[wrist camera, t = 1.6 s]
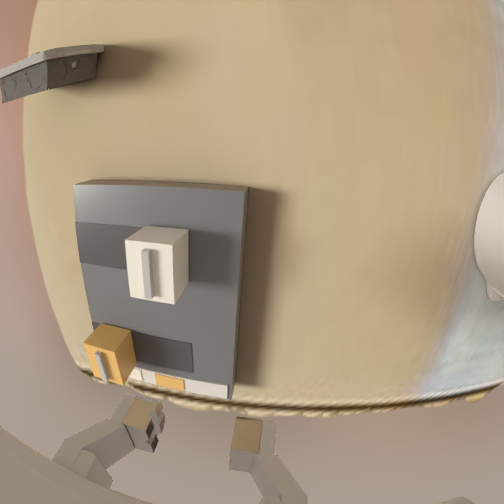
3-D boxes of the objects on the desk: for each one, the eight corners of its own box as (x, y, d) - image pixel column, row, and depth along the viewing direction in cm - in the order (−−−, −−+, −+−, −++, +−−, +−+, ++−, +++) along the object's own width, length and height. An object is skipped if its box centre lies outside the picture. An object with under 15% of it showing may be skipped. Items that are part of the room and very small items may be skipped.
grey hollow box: (108, 44, 21) (51, 31, 13) (103, 88, 24) (43, 88, 15) (49, 60, 22) (-7, 59, 14) (45, 99, 24) (-12, 106, 16)
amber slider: (130, 330, 29) (111, 355, 25) (137, 363, 31) (121, 389, 26) (100, 323, 29) (80, 346, 25) (109, 355, 31) (91, 379, 27)
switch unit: (248, 186, 26) (244, 192, 23) (234, 382, 34) (231, 401, 31) (90, 180, 27) (71, 185, 24) (115, 357, 35) (104, 372, 32)
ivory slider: (188, 229, 24) (169, 247, 20) (188, 282, 26) (172, 308, 22) (146, 225, 24) (121, 242, 20) (148, 276, 26) (127, 300, 22)
